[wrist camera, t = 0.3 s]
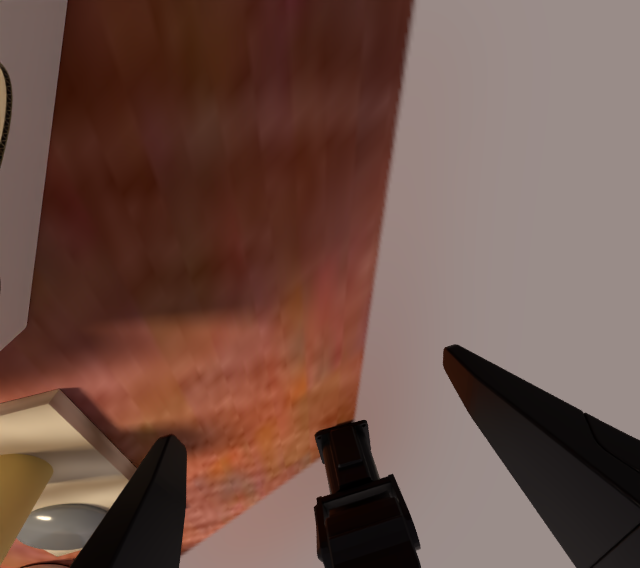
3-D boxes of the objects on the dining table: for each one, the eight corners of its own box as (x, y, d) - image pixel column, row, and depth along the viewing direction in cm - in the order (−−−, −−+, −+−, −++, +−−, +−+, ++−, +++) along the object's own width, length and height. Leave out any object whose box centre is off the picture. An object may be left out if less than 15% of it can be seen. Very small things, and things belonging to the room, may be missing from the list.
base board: (176, 509, 37) (173, 523, 36) (64, 541, 36) (57, 556, 35) (59, 389, 25) (48, 403, 23) (-117, 432, 24) (-139, 450, 22)
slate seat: (130, 528, 35) (128, 535, 34) (53, 551, 34) (50, 557, 34) (87, 495, 30) (84, 501, 30) (-3, 519, 29) (-8, 527, 29)
